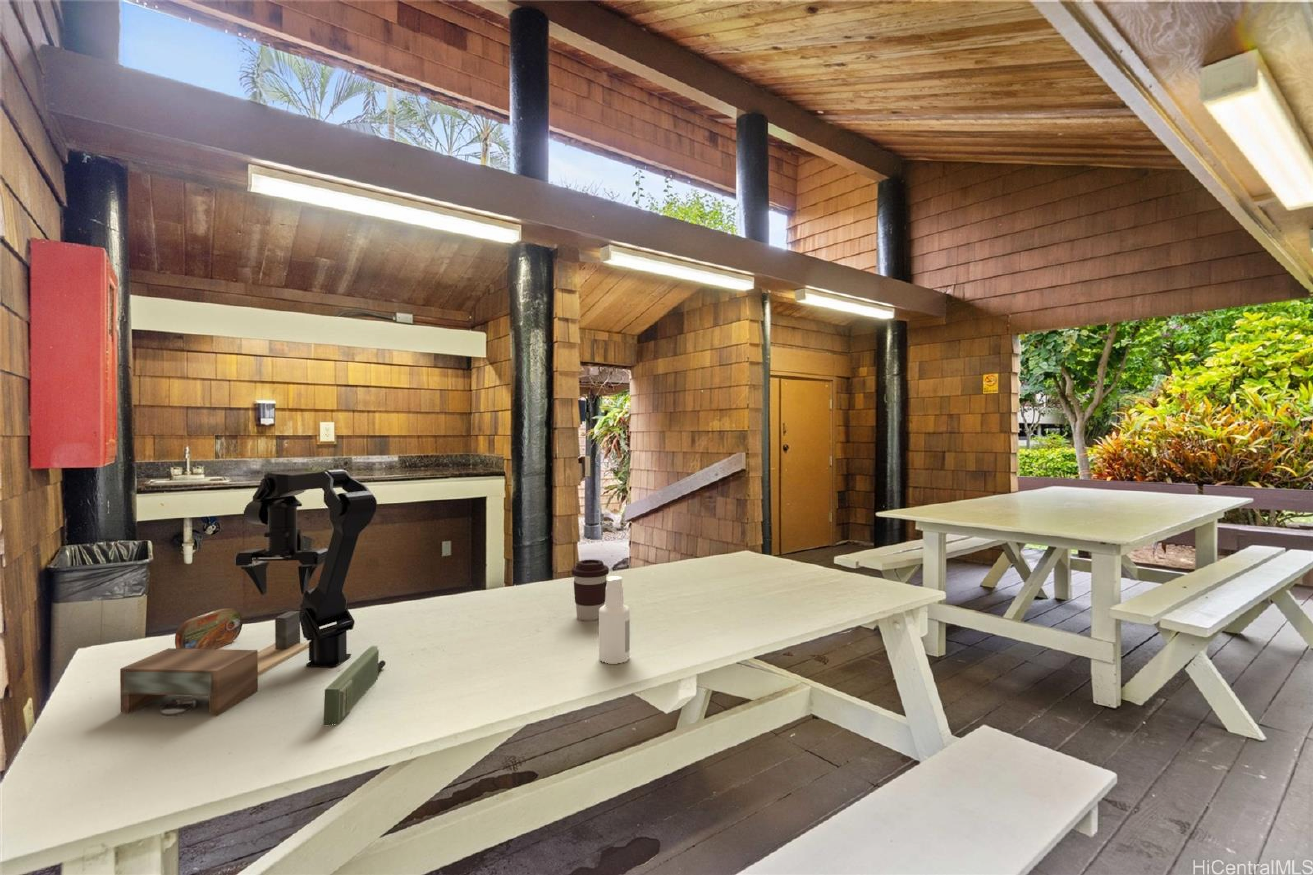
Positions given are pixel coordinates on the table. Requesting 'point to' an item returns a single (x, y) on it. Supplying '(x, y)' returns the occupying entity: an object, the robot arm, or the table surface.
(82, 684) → the table surface
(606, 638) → the spray bottle
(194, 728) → the table surface
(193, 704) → the token
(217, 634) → the tin
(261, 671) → the scraper
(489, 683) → the table surface
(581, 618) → the coffee cup
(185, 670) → the wooden bridge block
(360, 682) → the handheld radio
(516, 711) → the table surface
